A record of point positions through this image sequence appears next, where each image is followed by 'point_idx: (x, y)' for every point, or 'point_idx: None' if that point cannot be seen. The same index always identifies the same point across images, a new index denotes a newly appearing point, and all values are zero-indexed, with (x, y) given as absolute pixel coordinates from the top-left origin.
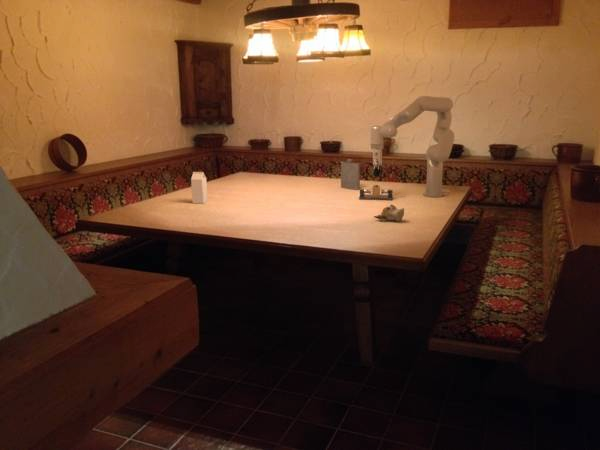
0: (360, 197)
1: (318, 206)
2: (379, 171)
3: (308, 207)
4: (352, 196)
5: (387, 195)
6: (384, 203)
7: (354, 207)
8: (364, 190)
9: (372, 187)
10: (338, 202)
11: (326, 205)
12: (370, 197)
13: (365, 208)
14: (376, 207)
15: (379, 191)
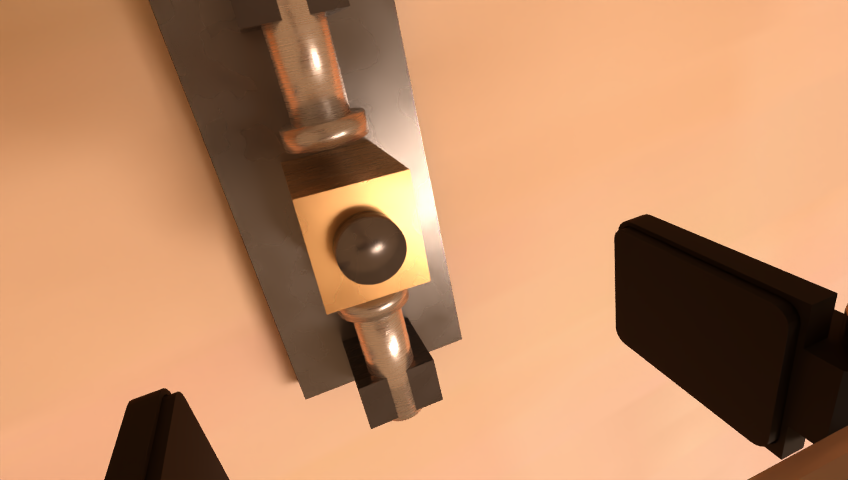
0: (457, 326)
1: (713, 442)
2: (179, 442)
3: (738, 469)
4: (327, 448)
5: (219, 54)
6: (554, 2)
7: (730, 226)
8: (412, 356)
9: (429, 274)
10: (592, 409)
11: (686, 421)
12: (437, 229)
13: (758, 127)
14: (724, 39)
15: (372, 158)
